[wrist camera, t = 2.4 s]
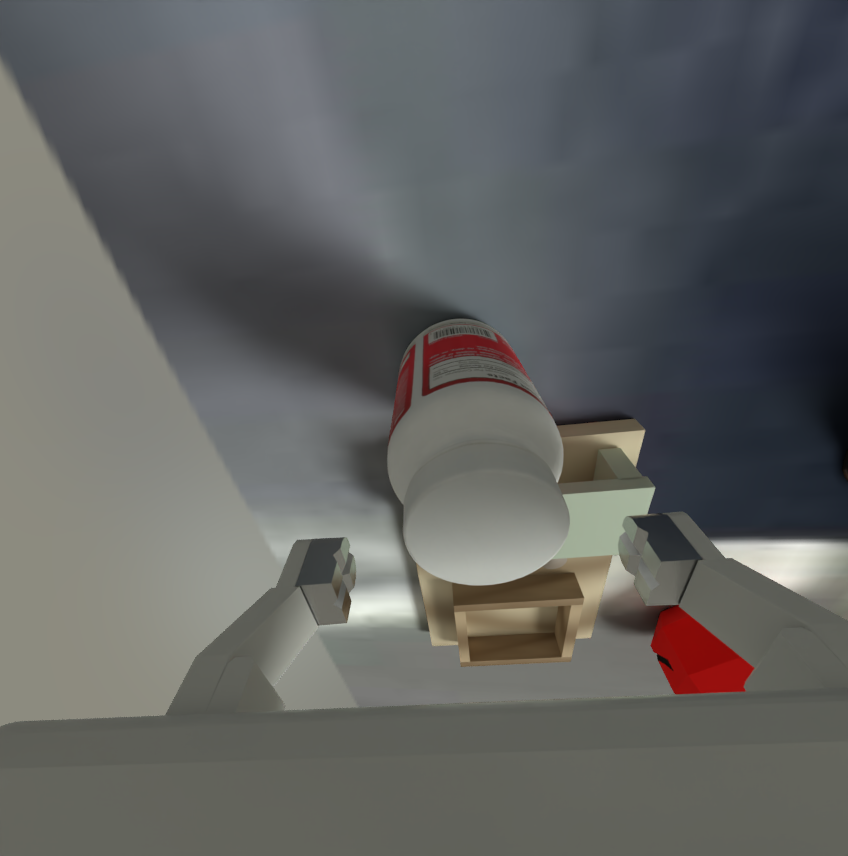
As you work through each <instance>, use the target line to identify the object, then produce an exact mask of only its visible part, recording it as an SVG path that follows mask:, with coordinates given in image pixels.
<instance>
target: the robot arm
mask: <svg viewBox="0 0 848 856" xmlns="http://www.w3.org/2000/svg"><path fill="white" fill-rule="evenodd" d="M622 527H623V528H624V530H625V532H624V533H623V534H622V535H621V536H620V537H619V541H618V550H619V556H620V558H621V561H622V563H623V565H624V567H625V569H626V570H627V571H628V572H630V573H631V574H633V575H634V576H635V580H634V585H635V587H636V589H637V591H638V592H639V594H640V596H641V598H642V600H643V601H644V603H645V605H646V606H655V605H679V607H680V608H681V609H683V610H684V611H685V612H686V613H688V614H689V615H690V616H691V617H692V618H694V619H695V620H696V621H697V622H699V623H700V624H701V625H702V626H704V627H705V628H706V629H707V630H708V631H710V632H711V633H712V634H713V635H715V636H716V637H717V638H718V639H720V640H721V641H722V642H723V643H724V644H726V645H727V646H728V647H729V648H731V649H732V650H733V651H734V652H736V653H737V654H738V655H739V656H740V657H742V658H743V659H744V660H745V661H747V662H748V663H749V664H750V665H752V666H753V667H754V670H753V671H752V673H751V674H750V676H749V677H748V678H747V680H746V681H745V684H744V688H745V690H746V692H722V693H698V694H673V695H649V696H624V697H600V698H575V699H551V700H526V701H502V702H478V703H454V704H430V705H406V706H382V707H358V708H334V709H310V710H287V711H284V710H285V705H284V703H283V701H282V699H281V698H280V697H279V695H278V694H277V692H276V691H275V689H274V688H273V687H274V686H275V685H276V683H277V682H278V681H279V679H280V678H281V677H282V675H283V674H284V673H285V671H286V670H287V669H288V667H289V666H290V664H291V663H292V662H293V661H294V659H295V658H296V657H297V655H298V653H299V652H300V651H301V650H302V648H303V647H304V646H305V644H306V643H307V642H308V641H309V639H310V638H311V637H312V635H313V634H314V633H315V631H316V630H317V629H318V625H330V624H341V623H347V620H348V615H349V610H350V605H351V599H350V596H349V592H350V591H351V590H352V589H353V588H354V585H355V579H356V565H355V559H354V556H353V555H352V554H351V553H349V548H350V544H349V541H348V539H347V538H345V537H343V538H322V539H306V540H297V541H296V542H295V543H294V544H293V547H292V549H291V552H290V554H289V556H288V559H287V561H286V564H285V566H284V569H283V571H282V574H281V576H280V579H279V581H278V583H277V586H276V588H271V589H269V590H268V591H267V592H266V593H265V594H264V595H263V596H262V597H261V598H260V599H259V600H257V601H256V602H255V604H253V605H252V606H251V607H250V608H249V609H248V610H247V611H245V612H244V613H243V614H242V615H241V616H240V617H239V618H238V619H237V620H236V621H235V622H233V624H231V625H230V626H229V627H228V628H227V629H226V630H225V631H224V632H223V633H222V634H220V635H219V636H218V637H217V638H216V639H215V640H214V641H213V642H212V643H211V644H210V645H208V646H207V647H206V648H205V649H204V650H203V651H202V652H201V653H200V654H199V655H197V657H196V658H195V659H194V661H193V663H192V665H191V667H190V669H189V671H188V673H187V675H186V677H185V678H184V680H183V683H182V684H181V686H180V688H179V690H178V692H177V694H176V696H175V697H174V699H173V701H172V703H171V705H170V707H169V709H168V711H167V713H166V715H165V716H142V717H118V718H93V719H68V720H42V721H20V722H14V723H9V724H6V725H3V726H1V727H0V856H848V621H847V620H845V619H844V618H842V617H840V616H838V615H836V614H834V613H832V612H831V611H829V610H827V609H825V608H823V607H821V606H819V605H818V604H816V603H814V602H812V601H810V600H808V599H806V598H805V597H803V596H801V595H799V594H797V593H795V592H793V591H792V590H790V589H788V588H786V587H784V586H782V585H780V584H778V583H777V582H775V581H773V580H771V579H769V578H767V577H765V576H764V575H762V574H760V573H758V572H756V571H754V570H752V569H751V568H749V567H747V566H745V565H743V564H741V563H739V562H738V561H736V560H734V559H732V558H725V557H724V556H723V555H722V554H721V553H720V551H719V550H718V549H717V548H716V547H715V546H714V545H713V543H712V542H711V541H710V540H709V539H708V538H707V536H706V535H705V534H704V533H703V532H702V531H701V530H700V528H699V527H698V526H697V525H696V524H695V523H694V521H693V520H692V519H691V518H690V517H689V516H688V515H687V514H686V513H684V512H672V513H663V514H662V513H657V514H646V515H634V516H626V517H625V518H624V520H623V524H622Z"/></svg>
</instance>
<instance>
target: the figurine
mask: <svg viewBox="0 0 848 856" xmlns="http://www.w3.org/2000/svg"><path fill="white" fill-rule="evenodd" d="M842 471H843V474H844V477H845V478H846V480H847V481H848V449H847V452H846V455H845V457H844V462H843V469H842Z"/></svg>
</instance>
